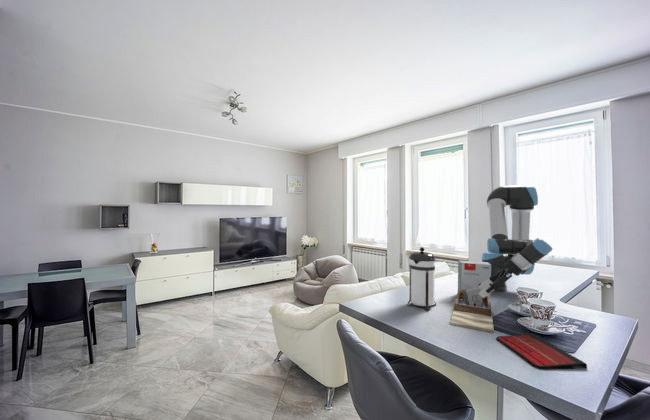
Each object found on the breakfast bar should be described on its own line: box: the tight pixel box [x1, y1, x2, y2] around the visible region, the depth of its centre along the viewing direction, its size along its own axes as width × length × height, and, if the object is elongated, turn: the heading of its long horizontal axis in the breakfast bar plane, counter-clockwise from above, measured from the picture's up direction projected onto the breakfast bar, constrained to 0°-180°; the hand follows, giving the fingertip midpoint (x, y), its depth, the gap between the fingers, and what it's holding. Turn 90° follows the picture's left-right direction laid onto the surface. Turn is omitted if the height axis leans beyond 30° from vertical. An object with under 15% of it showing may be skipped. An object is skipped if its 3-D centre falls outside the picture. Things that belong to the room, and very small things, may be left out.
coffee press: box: [406, 247, 437, 311], centre depth 141 cm, size 17×16×30 cm
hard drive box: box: [457, 259, 491, 298], centre depth 154 cm, size 16×8×20 cm, turn 73°
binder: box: [495, 332, 588, 370], centre depth 95 cm, size 16×2×21 cm
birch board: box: [449, 310, 495, 334], centre depth 120 cm, size 16×16×1 cm
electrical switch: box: [463, 288, 485, 308], centre depth 139 cm, size 9×5×9 cm, turn 116°
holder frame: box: [454, 291, 492, 317], centre depth 139 cm, size 21×15×4 cm
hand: (480, 292), depth 136 cm, fingers open, 13 cm apart
